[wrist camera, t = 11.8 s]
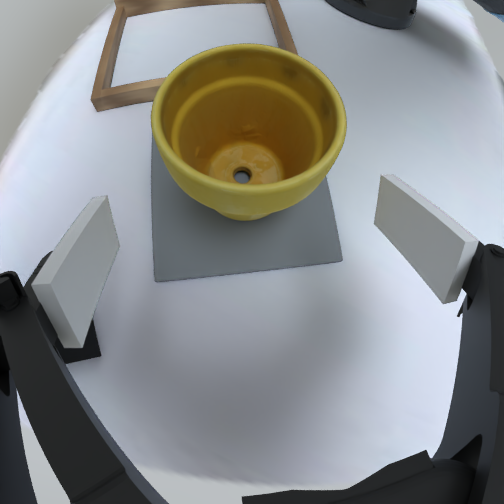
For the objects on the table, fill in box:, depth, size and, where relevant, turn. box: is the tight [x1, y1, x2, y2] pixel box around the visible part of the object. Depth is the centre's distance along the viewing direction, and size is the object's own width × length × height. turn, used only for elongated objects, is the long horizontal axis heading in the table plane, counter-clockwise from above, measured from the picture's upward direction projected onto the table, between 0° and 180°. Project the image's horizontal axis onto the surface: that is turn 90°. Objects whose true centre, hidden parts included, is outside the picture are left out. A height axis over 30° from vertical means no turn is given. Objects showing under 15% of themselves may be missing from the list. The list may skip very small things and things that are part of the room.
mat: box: [151, 132, 343, 282], centre depth 24 cm, size 14×14×1 cm
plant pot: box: [151, 44, 347, 221], centre depth 19 cm, size 10×10×10 cm
